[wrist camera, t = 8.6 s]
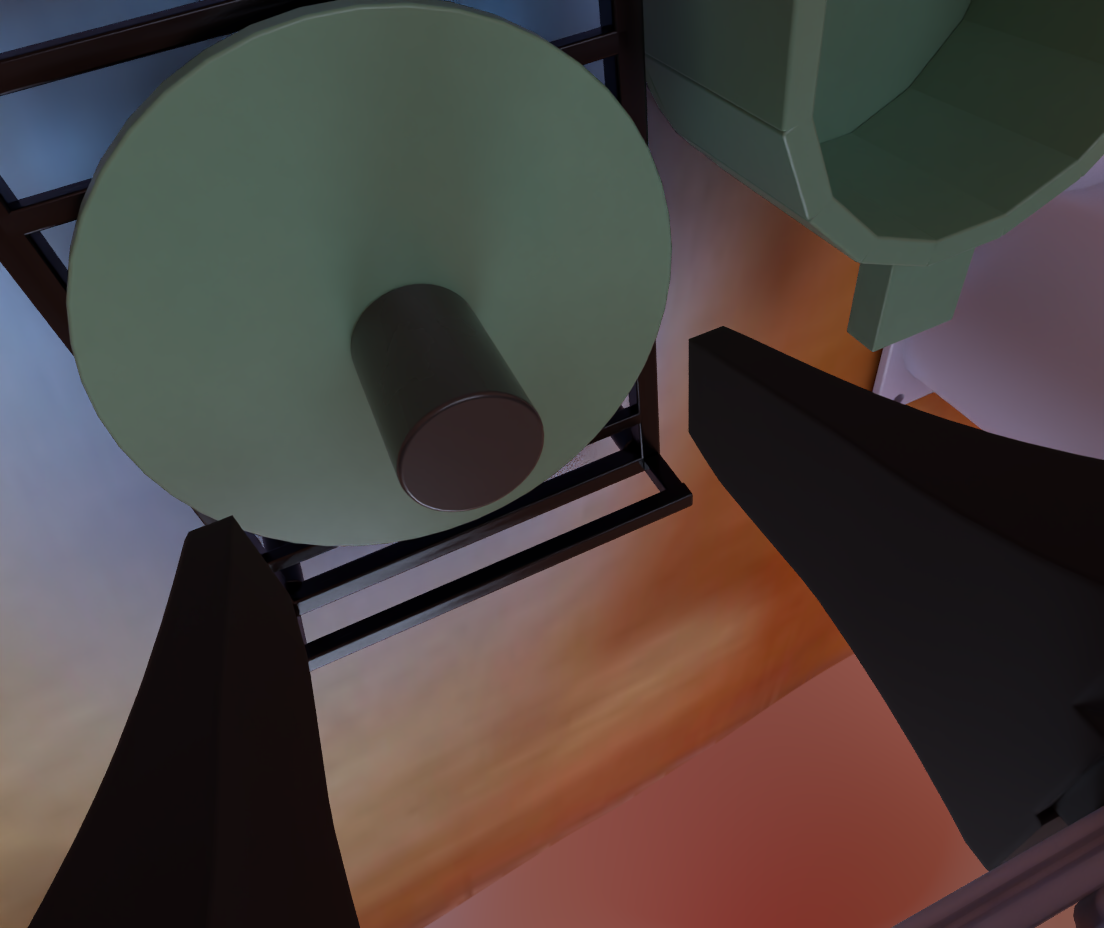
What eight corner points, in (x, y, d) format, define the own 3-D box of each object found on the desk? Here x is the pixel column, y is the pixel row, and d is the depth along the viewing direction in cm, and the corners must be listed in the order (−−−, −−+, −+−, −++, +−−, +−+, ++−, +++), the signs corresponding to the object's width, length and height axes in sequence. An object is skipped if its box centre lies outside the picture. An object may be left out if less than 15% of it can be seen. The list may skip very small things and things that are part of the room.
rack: (555, -280, 12) (703, -288, 9) (618, 408, 23) (693, 507, 20) (-204, -119, 10) (-341, -61, 7) (266, 549, 21) (292, 681, 18)
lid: (633, -95, 11) (816, -41, 8) (654, 411, 19) (753, 532, 16) (-118, 105, 9) (-225, 268, 6) (247, 576, 17) (274, 748, 14)
